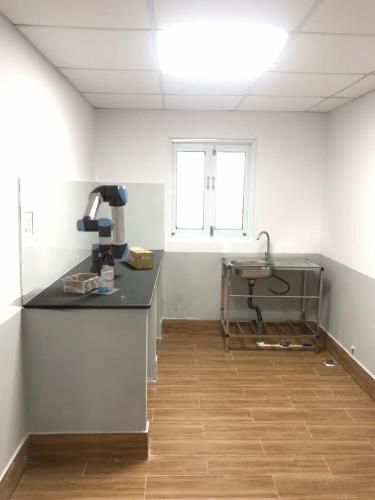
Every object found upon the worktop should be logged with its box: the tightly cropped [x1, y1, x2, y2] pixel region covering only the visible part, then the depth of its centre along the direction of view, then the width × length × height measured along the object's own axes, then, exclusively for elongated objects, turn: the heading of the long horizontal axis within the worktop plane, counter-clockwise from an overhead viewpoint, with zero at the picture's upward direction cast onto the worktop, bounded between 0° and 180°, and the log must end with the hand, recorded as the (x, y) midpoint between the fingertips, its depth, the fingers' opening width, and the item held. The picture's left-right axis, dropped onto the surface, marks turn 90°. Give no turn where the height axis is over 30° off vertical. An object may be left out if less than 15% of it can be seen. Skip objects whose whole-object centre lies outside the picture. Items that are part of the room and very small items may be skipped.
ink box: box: [97, 265, 115, 292], centre depth 250 cm, size 9×5×15 cm, turn 141°
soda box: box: [125, 246, 154, 270], centre depth 345 cm, size 40×14×13 cm, turn 21°
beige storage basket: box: [59, 272, 98, 295], centre depth 256 cm, size 25×18×7 cm
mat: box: [90, 288, 121, 296], centre depth 251 cm, size 14×12×1 cm
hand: (105, 279), depth 250 cm, fingers open, 13 cm apart
